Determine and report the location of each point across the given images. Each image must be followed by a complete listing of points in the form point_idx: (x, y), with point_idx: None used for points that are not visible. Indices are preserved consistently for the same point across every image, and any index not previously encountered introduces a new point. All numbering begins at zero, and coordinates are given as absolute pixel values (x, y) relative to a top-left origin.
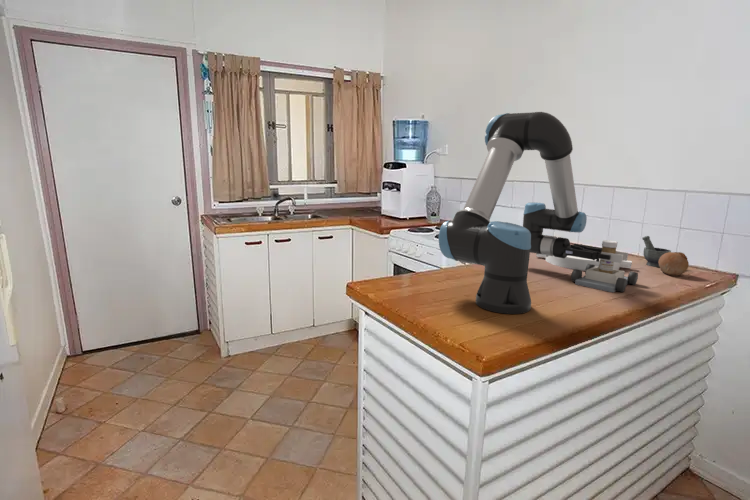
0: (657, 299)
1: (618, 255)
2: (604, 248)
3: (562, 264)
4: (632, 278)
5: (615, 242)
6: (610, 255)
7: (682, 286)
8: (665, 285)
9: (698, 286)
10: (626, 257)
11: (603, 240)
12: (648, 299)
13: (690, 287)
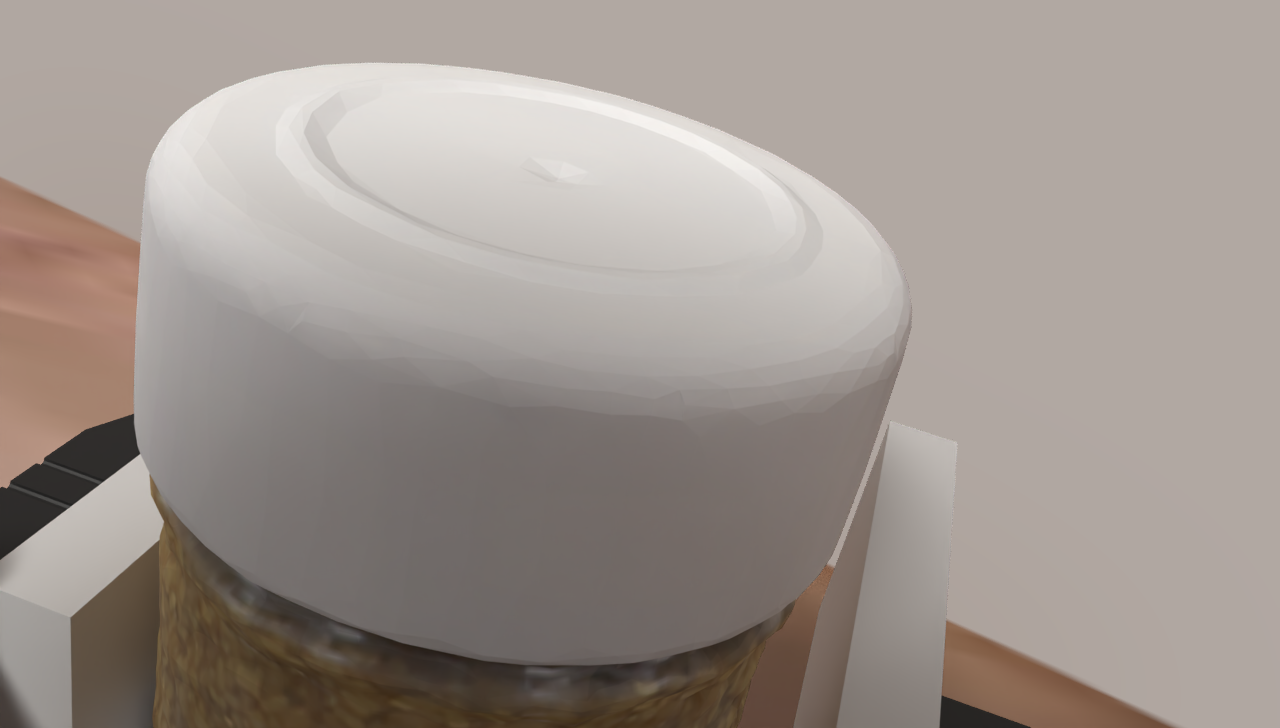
0: (948, 636)
1: (945, 514)
2: (715, 680)
3: None
4: None
5: (733, 138)
6: (952, 701)
7: (101, 294)
8: (108, 398)
9: (49, 206)
10: None
11: (503, 320)
12: (1045, 723)
13: (125, 261)
